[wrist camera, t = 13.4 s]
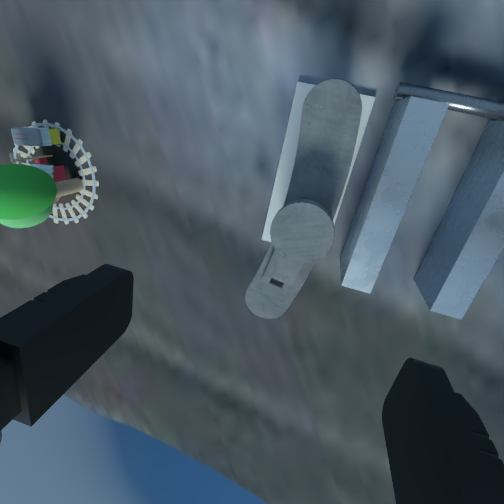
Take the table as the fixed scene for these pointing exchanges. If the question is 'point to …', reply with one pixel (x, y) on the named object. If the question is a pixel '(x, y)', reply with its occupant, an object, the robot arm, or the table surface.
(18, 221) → the train set
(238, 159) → the table surface
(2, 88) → the table surface
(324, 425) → the table surface
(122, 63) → the table surface
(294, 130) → the mat
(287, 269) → the hip flask
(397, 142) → the vise
